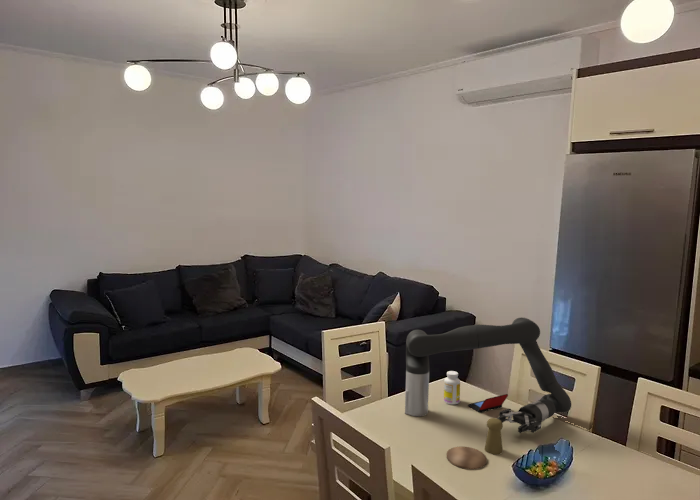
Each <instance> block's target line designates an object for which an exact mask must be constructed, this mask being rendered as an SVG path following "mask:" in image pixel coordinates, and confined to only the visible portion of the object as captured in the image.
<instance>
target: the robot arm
mask: <svg viewBox="0 0 700 500" xmlns="http://www.w3.org/2000/svg"><path fill="white" fill-rule="evenodd" d="M540 335H541V330H540V327H539V325H538V324H537V323H536V322H534V321H533V320H531V319H529V318H527V317H518V318H516V319H514V320H513V321H512V323H511V324H504V325H492V324H472V325H465V326H459V327H456V328H454V329H452V330H449V331H447V332H444V333H443V332H442V333H439V334H427V333H426V332H425V331H424V330H422V329H413V330H412V331H410V332H409V333H408V334H407V336H406V340H405V341H406V342H405V401H404V402H405V403H404V405H405V406H404V414H405V415H409V416H413V417H423V416H427V415H428V413H429V395H430V394H429V389H430V388H429V387H430V359H429V357H430V356H432V355H436V354H440V353H447V352H456V351H457V352H458V351H469V350H477V349H478V350H479V349H484V348H490V347H496V346H501V345H514V344H515V345H517V344H518V345H519V346H520V348H521V350H522V351H523V353H524V355H525V357H526V358H527V360H528V363H529V365H530V368H531V370H532V373H533V375H534V377H535V379H536V381H537V383H538V385H539V388H540V390H541V391H542V392H546V393H548V394H544V395H543V396H541V398H540V399H538V400H536V401H532V402H530V403H528V404H525V405H524V406H522V407H519V409H518V410H517V411H512V409H511V408H506V409H503V410H500V411H499V416H498V417H497V419H499V420H501V422H502V424H503V423H504V422H509V423H512V424H513V423H514V424H519V426H518V427H517V433H519V434H522V433H525V432H529V431H530V432H531V433H536V432H537V431H539V430H541V429H542V423H543V422H545V420H547V419H550V418H551V417H553V416H554V415H555V413H568V412H569V411H570V410H571V408H572V401H571V398H570V396H569V394H568V393H567V392H566V391H565V389H564V388H563V387H562V386H561V384H560V383H559V381H558V380H557V378H556V375H555V373H554V371H553V368H552V367H551V365H550V363H549V362H548V360H547V358H546V357H545V355H544V354H543V352H542V350H541V348H540V346H539V343H538V341H537V340H538V339H539V338H540Z"/></svg>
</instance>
